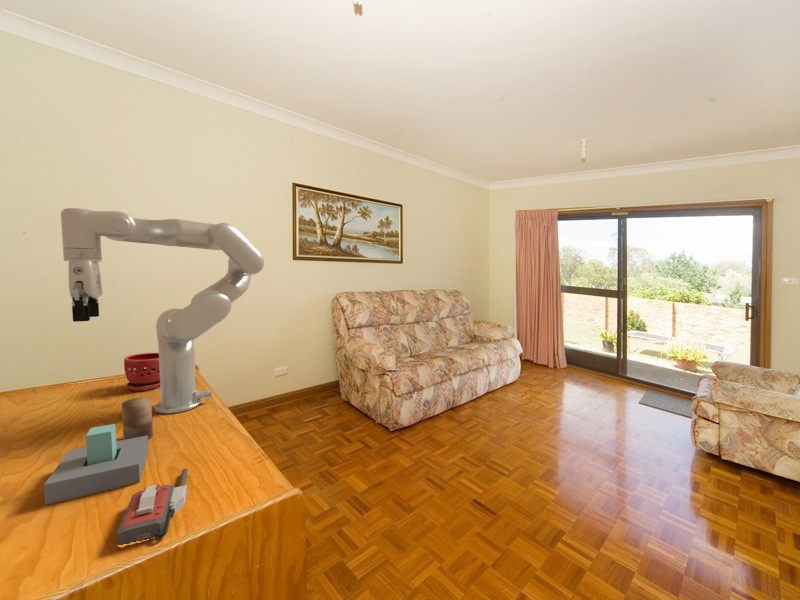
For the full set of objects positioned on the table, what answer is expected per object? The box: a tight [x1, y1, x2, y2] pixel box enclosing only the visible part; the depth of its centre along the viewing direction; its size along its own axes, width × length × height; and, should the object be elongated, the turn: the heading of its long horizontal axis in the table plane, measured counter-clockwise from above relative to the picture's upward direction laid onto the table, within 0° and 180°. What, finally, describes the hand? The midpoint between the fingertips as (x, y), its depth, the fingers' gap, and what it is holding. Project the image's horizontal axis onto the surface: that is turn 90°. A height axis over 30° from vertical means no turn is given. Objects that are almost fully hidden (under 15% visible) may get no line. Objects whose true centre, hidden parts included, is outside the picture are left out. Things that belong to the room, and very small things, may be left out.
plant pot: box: [123, 352, 160, 392], centre depth 126 cm, size 13×13×12 cm
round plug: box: [121, 396, 154, 441], centre depth 88 cm, size 6×6×10 cm
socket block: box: [43, 435, 149, 506], centre depth 72 cm, size 14×14×4 cm
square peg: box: [85, 423, 117, 465], centre depth 72 cm, size 4×4×10 cm
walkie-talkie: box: [115, 467, 189, 545], centre depth 63 cm, size 9×4×20 cm
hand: (86, 318), depth 92 cm, fingers open, 9 cm apart
